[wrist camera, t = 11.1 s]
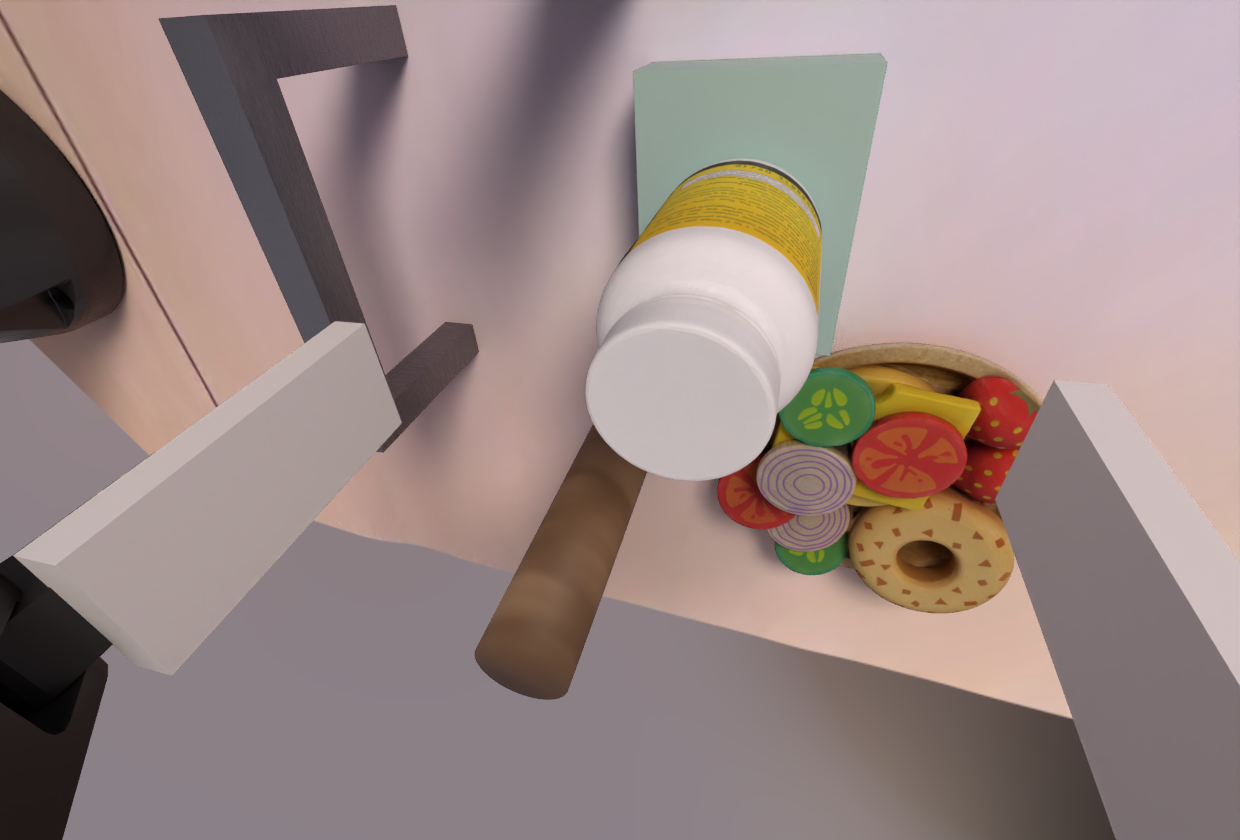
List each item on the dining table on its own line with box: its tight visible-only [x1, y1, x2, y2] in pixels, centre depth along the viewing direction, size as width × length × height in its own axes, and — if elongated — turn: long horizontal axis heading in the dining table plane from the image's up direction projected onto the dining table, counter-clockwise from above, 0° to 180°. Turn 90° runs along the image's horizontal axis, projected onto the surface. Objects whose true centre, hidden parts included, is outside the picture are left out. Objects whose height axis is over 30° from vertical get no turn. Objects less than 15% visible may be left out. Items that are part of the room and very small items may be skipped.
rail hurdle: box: [159, 5, 479, 452], centre depth 21 cm, size 2×14×8 cm, turn 4°
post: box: [475, 424, 647, 699], centre depth 22 cm, size 3×3×14 cm
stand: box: [633, 53, 888, 356], centre depth 19 cm, size 7×9×2 cm
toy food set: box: [717, 343, 1043, 613], centre depth 24 cm, size 13×13×3 cm
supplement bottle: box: [585, 158, 822, 481], centre depth 15 cm, size 5×5×10 cm
